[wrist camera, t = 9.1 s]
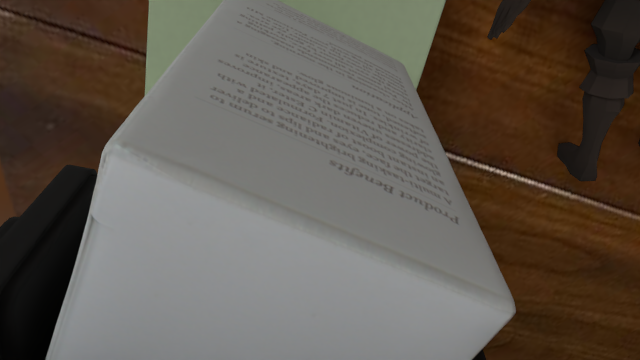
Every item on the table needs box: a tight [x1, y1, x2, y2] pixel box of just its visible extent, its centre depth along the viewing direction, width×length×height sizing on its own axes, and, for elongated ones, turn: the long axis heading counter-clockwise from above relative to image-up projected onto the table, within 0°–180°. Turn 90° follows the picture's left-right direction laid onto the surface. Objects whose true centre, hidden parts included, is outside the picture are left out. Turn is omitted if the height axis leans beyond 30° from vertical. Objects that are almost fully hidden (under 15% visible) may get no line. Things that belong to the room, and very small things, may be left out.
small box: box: [45, 0, 516, 360], centre depth 12 cm, size 8×6×10 cm
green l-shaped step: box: [145, 0, 446, 96], centre depth 22 cm, size 16×12×10 cm
